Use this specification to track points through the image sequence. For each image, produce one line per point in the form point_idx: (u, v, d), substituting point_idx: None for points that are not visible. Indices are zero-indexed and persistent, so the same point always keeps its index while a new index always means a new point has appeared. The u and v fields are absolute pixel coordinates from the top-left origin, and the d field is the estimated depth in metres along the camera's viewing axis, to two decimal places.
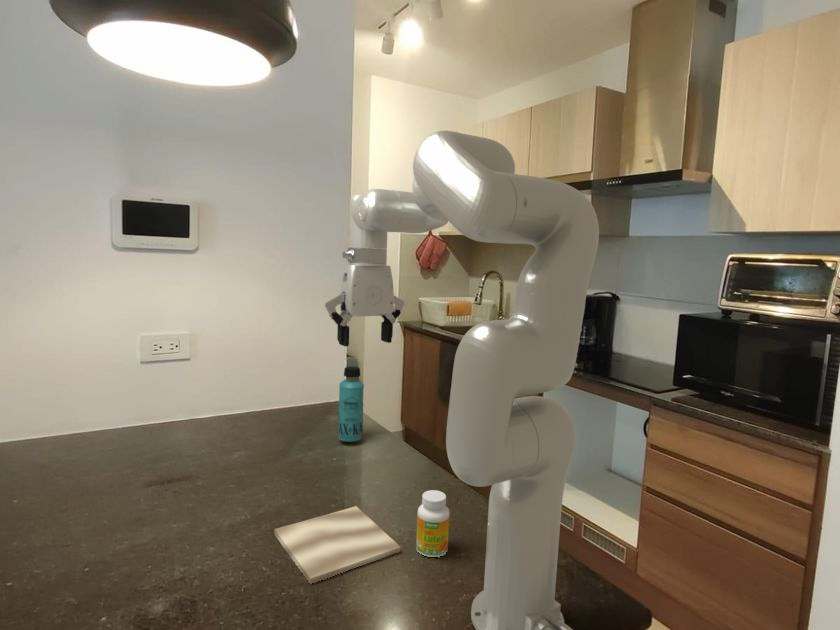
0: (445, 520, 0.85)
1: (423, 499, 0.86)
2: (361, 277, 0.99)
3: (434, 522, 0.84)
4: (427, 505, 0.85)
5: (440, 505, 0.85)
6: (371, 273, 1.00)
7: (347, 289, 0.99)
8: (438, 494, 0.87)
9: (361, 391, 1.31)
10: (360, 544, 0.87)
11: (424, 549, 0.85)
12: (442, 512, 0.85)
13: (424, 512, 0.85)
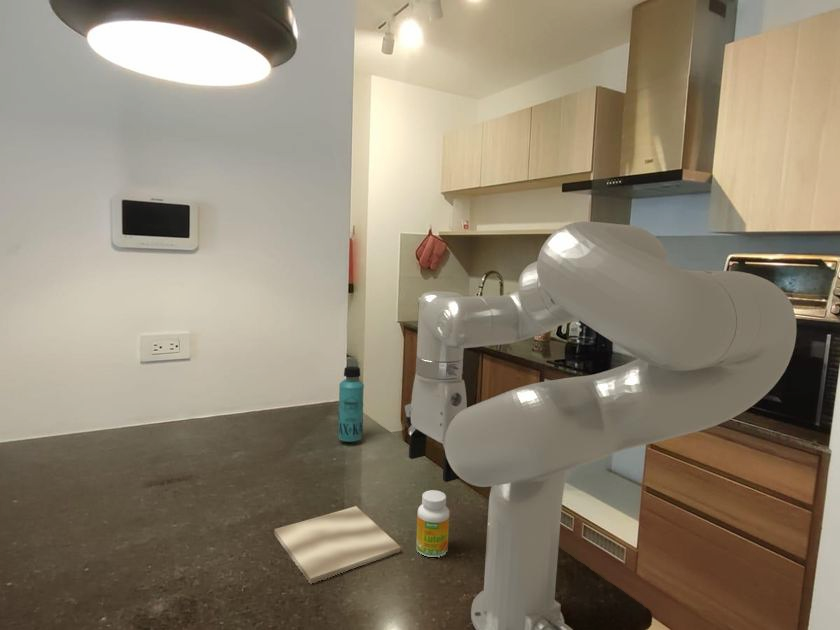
0: (445, 520, 0.85)
1: (423, 499, 0.86)
2: None
3: (434, 522, 0.84)
4: (427, 505, 0.85)
5: (440, 505, 0.85)
6: None
7: None
8: (438, 494, 0.87)
9: (361, 391, 1.31)
10: (360, 544, 0.87)
11: (424, 549, 0.85)
12: (442, 512, 0.85)
13: (424, 512, 0.85)
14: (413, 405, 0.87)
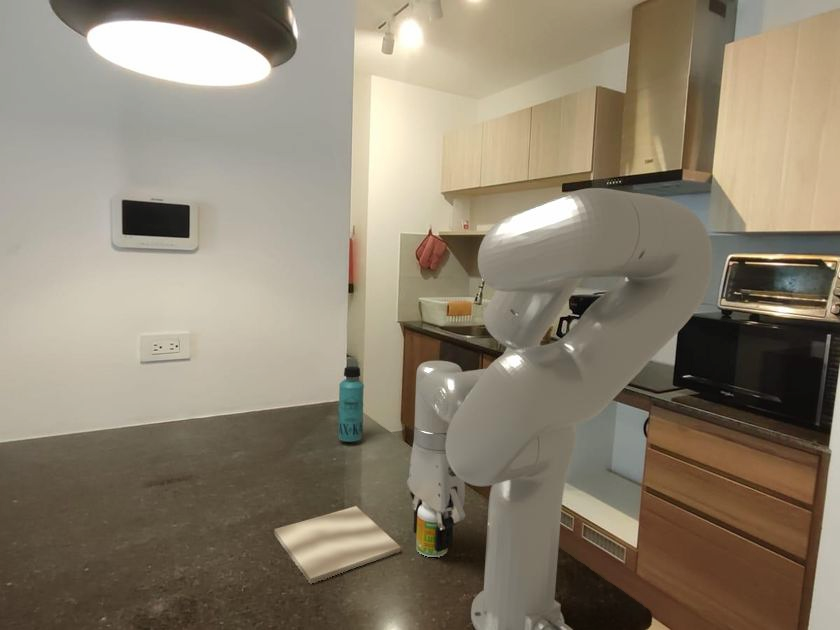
0: None
1: None
2: None
3: (434, 522, 0.84)
4: (427, 505, 0.85)
5: None
6: None
7: (460, 481, 0.83)
8: None
9: (361, 391, 1.31)
10: (360, 544, 0.87)
11: (424, 549, 0.85)
12: None
13: (424, 512, 0.85)
14: (411, 471, 0.88)
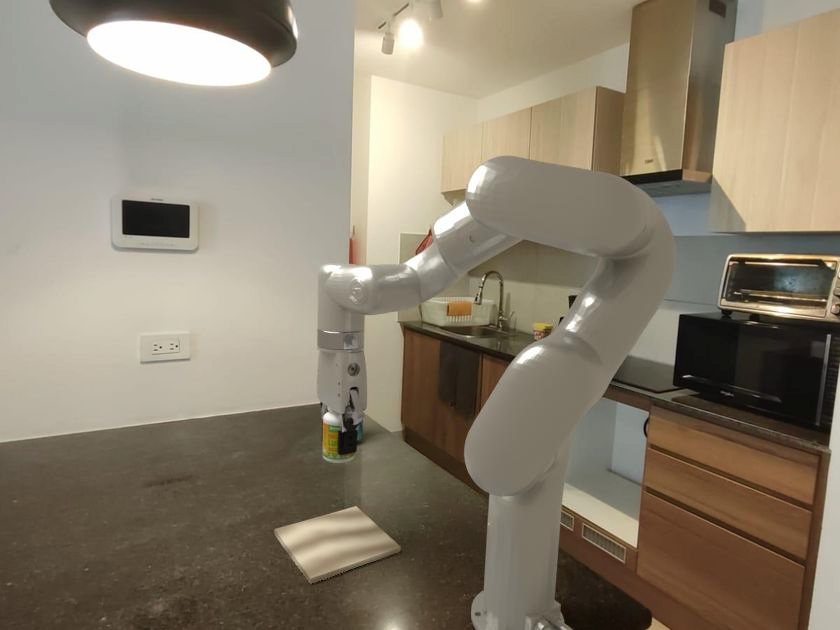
0: None
1: None
2: None
3: (337, 425, 0.83)
4: (331, 409, 0.84)
5: None
6: None
7: (361, 382, 0.81)
8: None
9: None
10: (360, 544, 0.87)
11: (328, 454, 0.84)
12: (346, 417, 0.84)
13: (328, 416, 0.84)
14: (318, 378, 0.87)
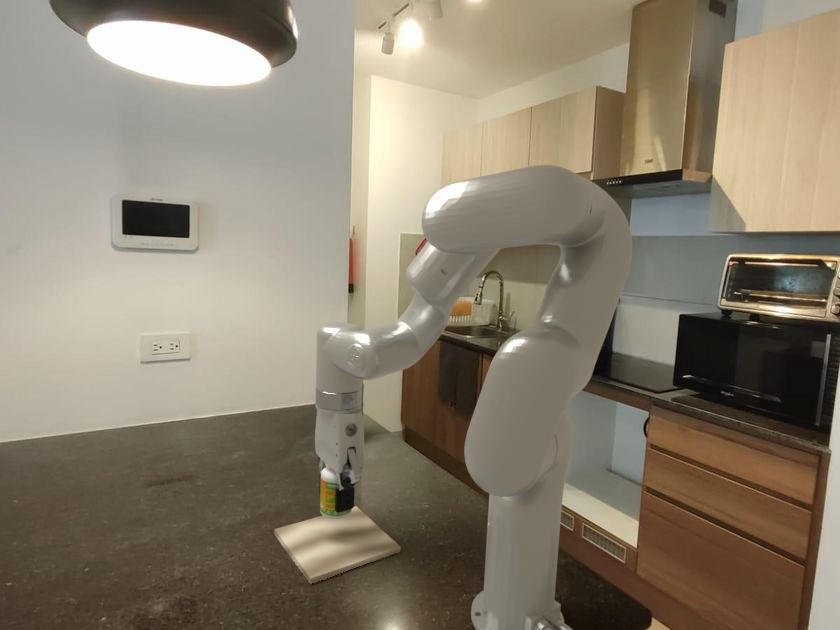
0: None
1: None
2: None
3: (335, 483, 0.84)
4: (329, 466, 0.85)
5: None
6: None
7: (359, 441, 0.83)
8: None
9: None
10: (360, 544, 0.87)
11: (326, 510, 0.85)
12: (343, 473, 0.85)
13: (325, 473, 0.85)
14: (316, 434, 0.88)
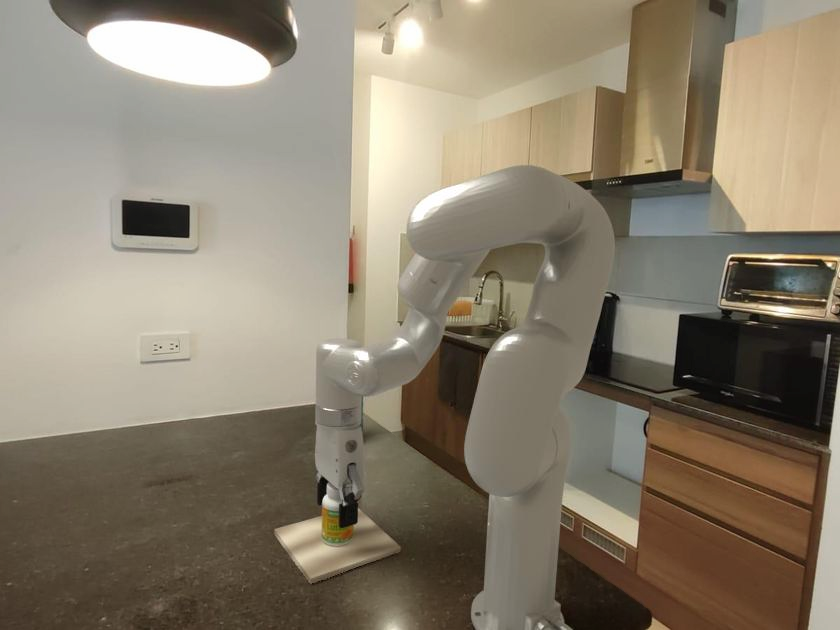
0: None
1: (327, 488, 0.86)
2: None
3: (336, 511, 0.85)
4: (330, 494, 0.85)
5: None
6: None
7: (359, 457, 0.83)
8: (343, 483, 0.87)
9: None
10: (360, 544, 0.87)
11: (327, 537, 0.86)
12: None
13: (327, 501, 0.85)
14: (316, 449, 0.88)
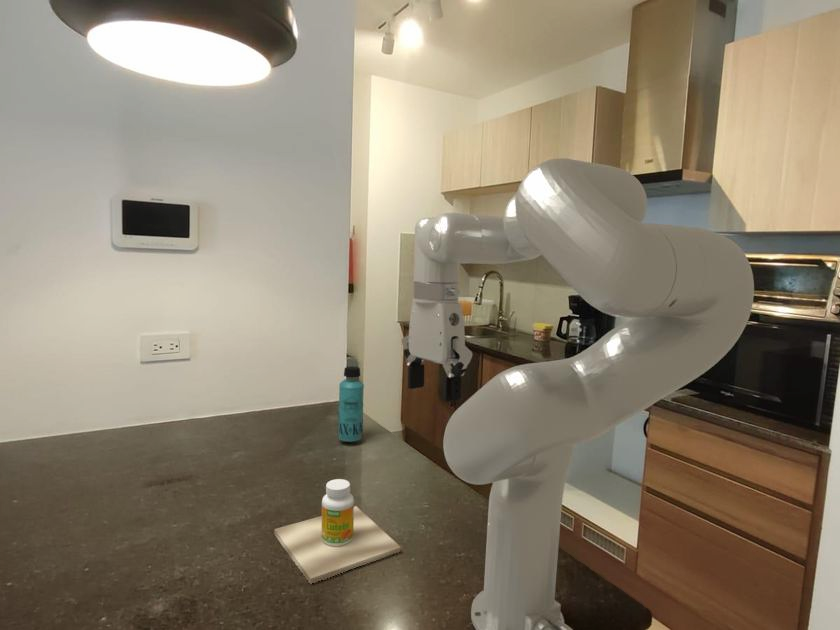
0: (347, 508, 0.85)
1: (326, 487, 0.86)
2: None
3: (335, 510, 0.85)
4: (329, 493, 0.85)
5: (342, 493, 0.85)
6: None
7: (460, 332, 0.84)
8: (342, 482, 0.87)
9: (361, 391, 1.31)
10: (360, 544, 0.87)
11: (327, 537, 0.86)
12: (344, 501, 0.86)
13: (326, 500, 0.86)
14: (411, 333, 0.88)
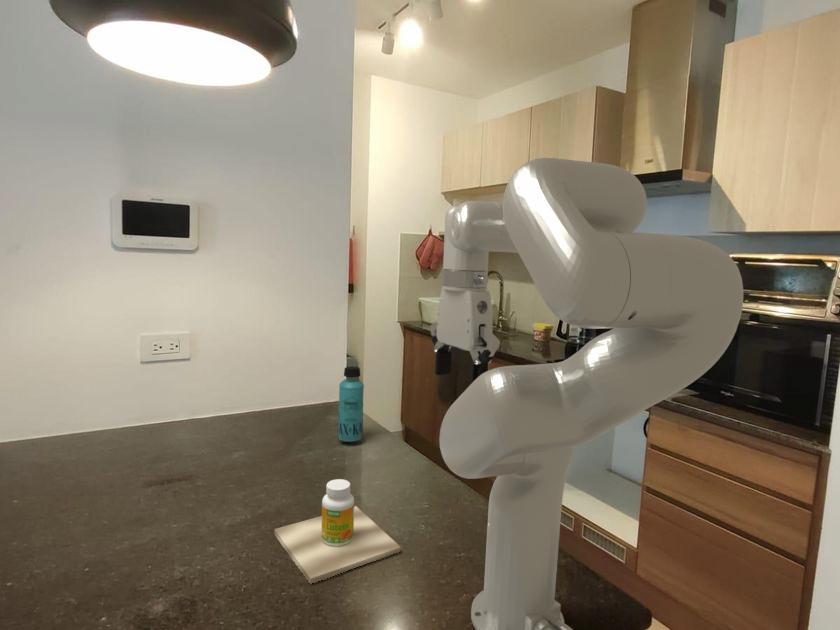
0: (347, 508, 0.85)
1: (326, 488, 0.86)
2: None
3: (335, 511, 0.85)
4: (329, 493, 0.85)
5: (342, 493, 0.85)
6: None
7: (488, 320, 0.84)
8: (343, 483, 0.87)
9: (361, 391, 1.31)
10: (360, 544, 0.87)
11: (327, 537, 0.86)
12: (344, 501, 0.85)
13: (326, 501, 0.86)
14: (439, 320, 0.90)
